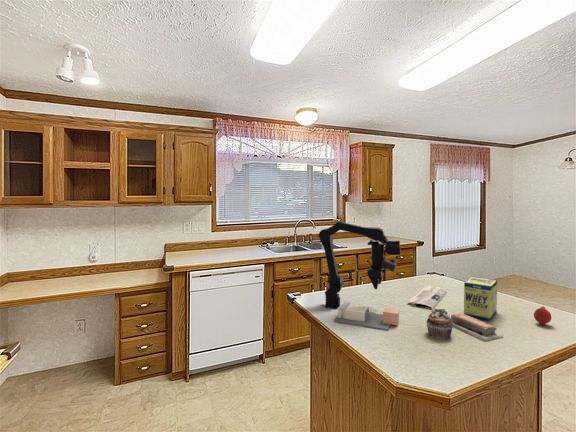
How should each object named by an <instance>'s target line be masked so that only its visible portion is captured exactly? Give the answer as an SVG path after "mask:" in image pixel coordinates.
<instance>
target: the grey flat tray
mask: <svg viewBox="0 0 576 432" xmlns="http://www.w3.org/2000/svg"><path fill="white" fill-rule="evenodd" d="M334 323H338V324H346V325H350V326H356V327H357V326H358V327H363V328H369V329H376V330H382V331H387V332H388V331H389V330H390V327H391V325H392V324H385V323H383V313H376V312H375V313H374V312H370V306H365V305H364V306H363V305H356V304H351V302H350V301H344V302H343V303H341V304H340V306H339V307H338V308H337V317H336V318H335V319H334Z"/></svg>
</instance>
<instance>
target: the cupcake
mask: <svg viewBox="0 0 576 432" xmlns="http://www.w3.org/2000/svg"><path fill="white" fill-rule="evenodd" d="M427 317H428V318H427V319H426V326H427V327H426V328H427V332H428V335H429V336H430V337H432V338H434V339H437V340H449V339H450V338H451V336H452V331H453V328H454V327H453V322H452V321H451V315H450V314H448V311H447V310H446V309H445V308H439V309H438V308H434V309H432V310H431V312H430V314H429V315H428V316H427Z"/></svg>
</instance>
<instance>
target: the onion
mask: <svg viewBox="0 0 576 432" xmlns="http://www.w3.org/2000/svg"><path fill="white" fill-rule="evenodd" d="M533 318H534V319H535V321H536V322H537V323H538V324H540V325H541V326H544V325H547V324H548V323H550V322H551V321H552V314H551V312H550V311H549V310H548V309H547V308H546V307H545V305H542V306H540V307H539V308H536V310H534V312H533Z"/></svg>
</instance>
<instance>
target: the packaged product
mask: <svg viewBox="0 0 576 432" xmlns="http://www.w3.org/2000/svg"><path fill="white" fill-rule="evenodd" d="M450 318H451V321H452V322H453V328H455V329H457V330H459V331H461V332H463V333H465V334H468V335H470V336H471V337H475V338H476V339H479V340H481V341H483V342H487V341H493V340H497V339H501V338H504V334H501V333H499V332H497V331H496V330H497V327H496V326H493V325H492V324H489V323H487V322H485V321H483V320H481V319H476V318H473V317H470V316H468V315H465V314H464V313H462V312H459V313H453V314H451V315H450Z"/></svg>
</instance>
